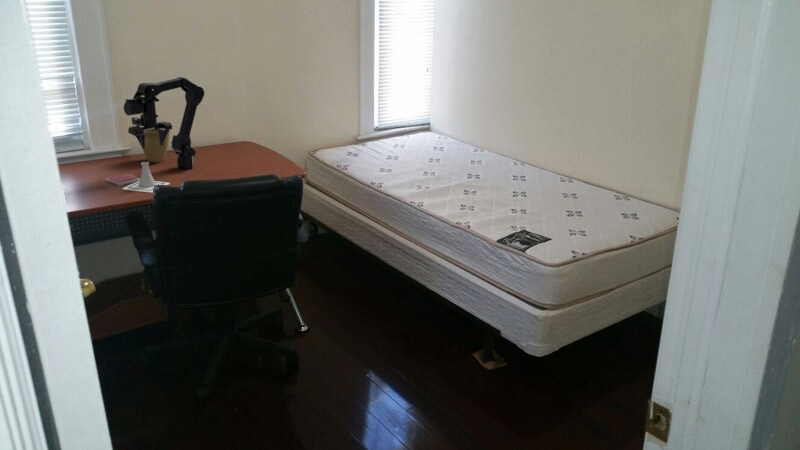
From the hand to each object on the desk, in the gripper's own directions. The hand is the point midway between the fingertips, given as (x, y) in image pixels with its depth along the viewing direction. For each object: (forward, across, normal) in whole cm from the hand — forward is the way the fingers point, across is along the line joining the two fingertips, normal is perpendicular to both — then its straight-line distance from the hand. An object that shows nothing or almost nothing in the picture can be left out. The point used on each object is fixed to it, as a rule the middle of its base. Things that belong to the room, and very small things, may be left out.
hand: (152, 147), depth 289 cm
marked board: (+13, +13, +13) cm, 22 cm away
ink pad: (+13, +15, -2) cm, 20 cm away
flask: (+13, +12, +12) cm, 22 cm away
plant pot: (+13, -15, -20) cm, 29 cm away
